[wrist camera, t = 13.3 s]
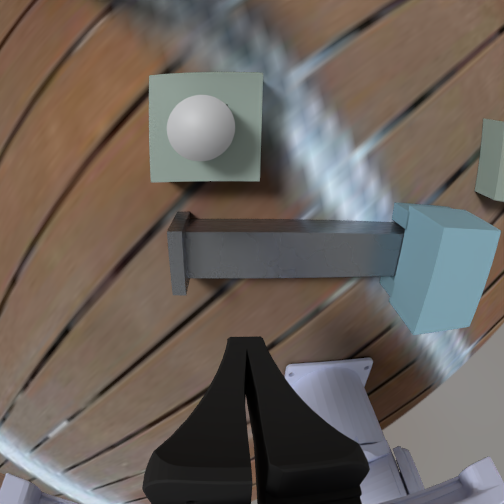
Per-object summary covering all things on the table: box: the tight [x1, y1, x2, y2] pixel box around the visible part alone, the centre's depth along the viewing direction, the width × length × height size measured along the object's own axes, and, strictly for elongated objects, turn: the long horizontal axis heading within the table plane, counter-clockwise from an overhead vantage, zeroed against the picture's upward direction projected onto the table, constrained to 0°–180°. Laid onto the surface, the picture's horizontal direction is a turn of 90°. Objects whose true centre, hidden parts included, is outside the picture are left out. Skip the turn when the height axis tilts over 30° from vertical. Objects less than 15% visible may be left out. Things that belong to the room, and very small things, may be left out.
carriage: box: [380, 203, 501, 335], centre depth 19 cm, size 7×5×6 cm
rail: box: [167, 212, 405, 295], centre depth 20 cm, size 4×22×4 cm, turn 89°
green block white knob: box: [149, 72, 263, 182], centre depth 16 cm, size 6×6×5 cm
